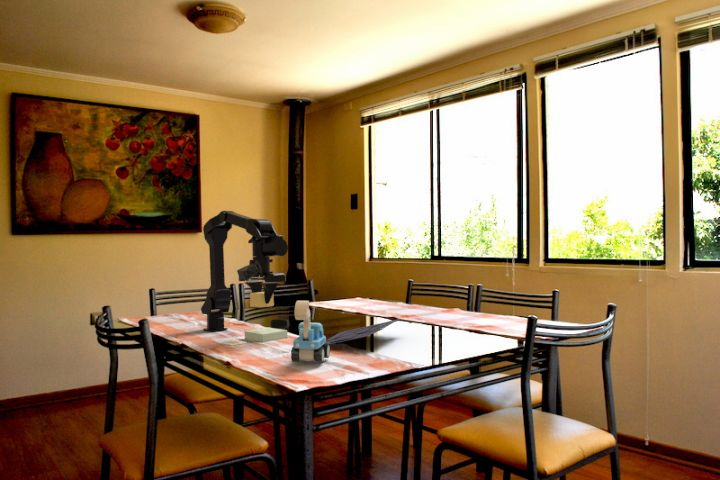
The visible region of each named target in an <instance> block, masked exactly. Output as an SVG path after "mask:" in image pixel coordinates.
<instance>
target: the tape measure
mask: <svg viewBox="0 0 720 480" xmlns="http://www.w3.org/2000/svg"><path fill="white" fill-rule="evenodd" d="M290 326H291V322H290V320H288V319H286V318H276V319H275V318H274V319H271V320H270V322H269V328H275V329H281V330H285V329H287V328H289V327H290Z"/></svg>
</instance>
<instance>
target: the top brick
mask: <svg viewBox="0 0 720 480" xmlns="http://www.w3.org/2000/svg"><path fill="white" fill-rule="evenodd" d="M274 294H275V293H273V295H272V297H271V299H270V302H269V303H268V304H266V303H265V296H264V291H261V292H257V293H252V292H250V293H249V307H250V308H251V307H252V308H266V307H267V308H268V307H273V306H274V305H275V300H274Z"/></svg>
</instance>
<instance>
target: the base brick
mask: <svg viewBox="0 0 720 480" xmlns="http://www.w3.org/2000/svg"><path fill="white" fill-rule="evenodd" d="M248 339H249V340H250V341H255V342H258V343H259V342H260V343H266V342H268V343H269V342H272V341H278V340H283V339H288V330H287V329H275V328H271V327H264V328H263V327H262V328H257V329H251V330H244V340H248Z"/></svg>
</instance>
